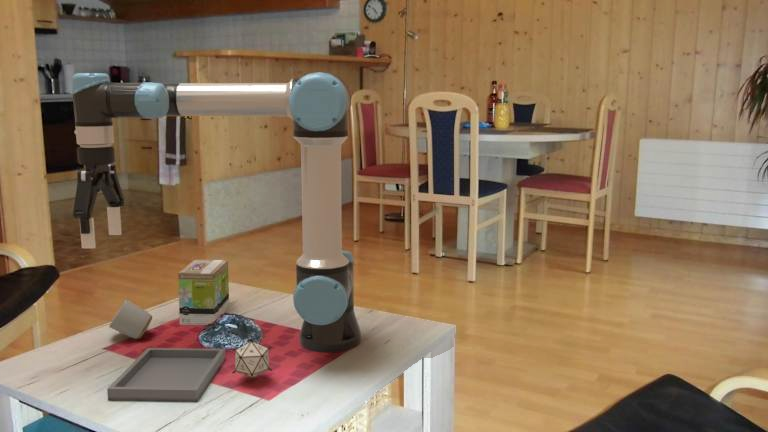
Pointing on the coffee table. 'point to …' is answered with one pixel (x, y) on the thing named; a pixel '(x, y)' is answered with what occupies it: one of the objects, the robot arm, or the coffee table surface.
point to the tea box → (203, 291)
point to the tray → (167, 375)
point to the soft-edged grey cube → (131, 320)
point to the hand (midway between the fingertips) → (102, 241)
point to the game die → (252, 359)
